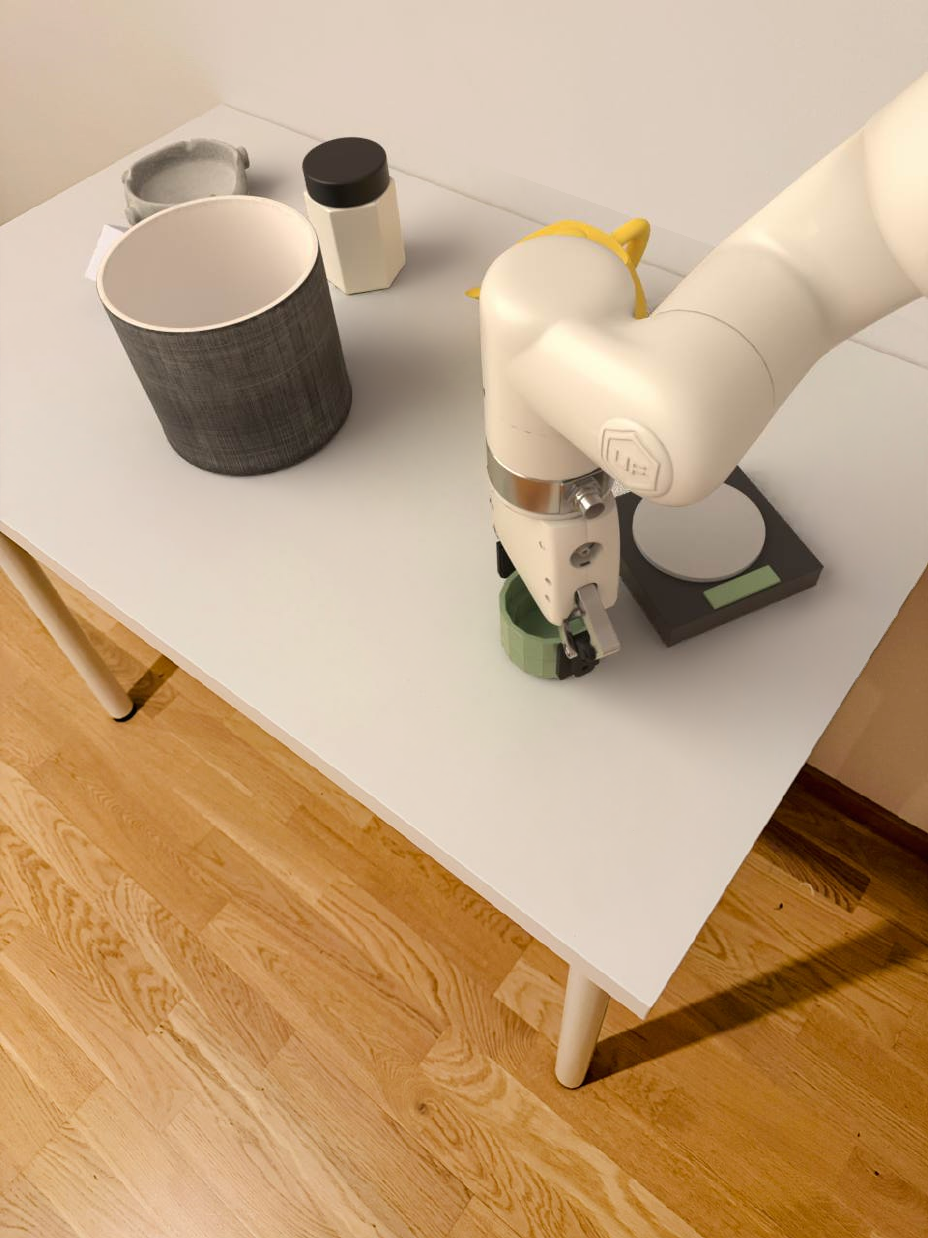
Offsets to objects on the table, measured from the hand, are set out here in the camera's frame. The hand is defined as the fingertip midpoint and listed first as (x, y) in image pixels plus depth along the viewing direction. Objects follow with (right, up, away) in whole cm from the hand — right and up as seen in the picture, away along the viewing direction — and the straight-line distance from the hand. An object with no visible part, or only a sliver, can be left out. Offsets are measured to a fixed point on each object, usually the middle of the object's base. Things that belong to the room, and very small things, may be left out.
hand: (546, 617), depth 66 cm
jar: (-17, +37, +29) cm, 50 cm away
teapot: (+3, +25, +20) cm, 32 cm away
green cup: (0, -2, +2) cm, 3 cm away
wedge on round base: (-37, +33, +29) cm, 57 cm away
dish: (-37, +47, +38) cm, 71 cm away
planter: (-25, +20, +19) cm, 37 cm away
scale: (+13, +5, +5) cm, 15 cm away
